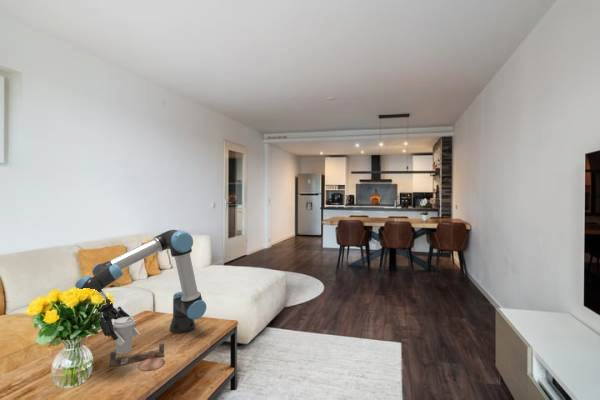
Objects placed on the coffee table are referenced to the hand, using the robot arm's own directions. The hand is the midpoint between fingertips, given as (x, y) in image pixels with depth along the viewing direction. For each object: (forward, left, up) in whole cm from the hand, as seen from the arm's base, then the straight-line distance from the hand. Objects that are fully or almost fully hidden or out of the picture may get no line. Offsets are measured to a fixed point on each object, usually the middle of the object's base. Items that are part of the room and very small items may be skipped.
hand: (130, 339), depth 153 cm
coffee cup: (+2, -2, -6) cm, 7 cm away
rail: (-4, -3, -15) cm, 16 cm away
